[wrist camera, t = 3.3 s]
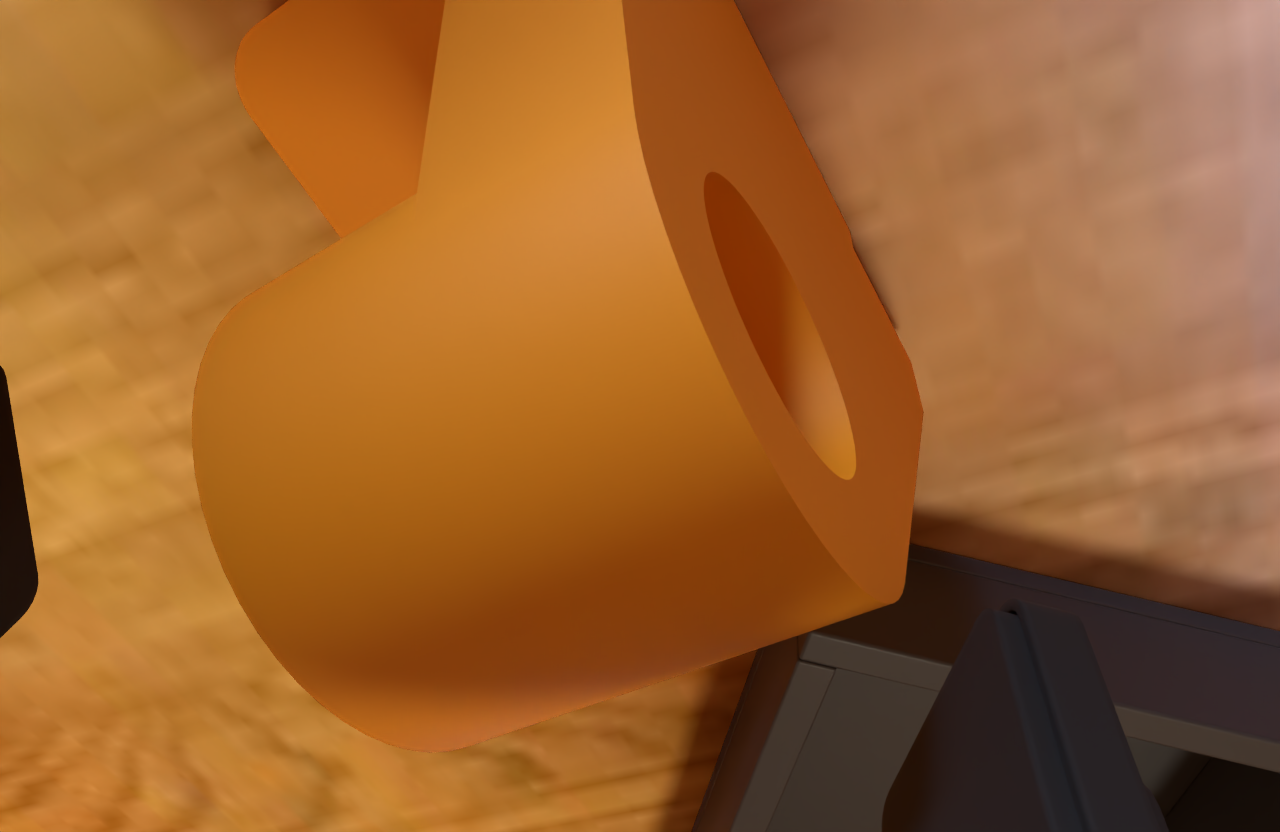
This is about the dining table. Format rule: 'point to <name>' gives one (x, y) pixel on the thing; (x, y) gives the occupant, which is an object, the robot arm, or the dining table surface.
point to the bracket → (545, 366)
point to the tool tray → (919, 664)
